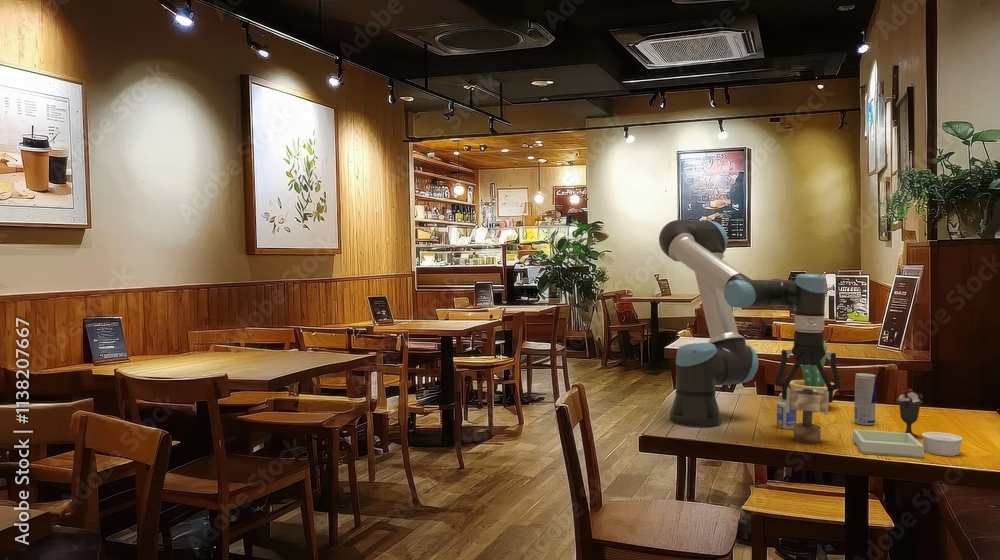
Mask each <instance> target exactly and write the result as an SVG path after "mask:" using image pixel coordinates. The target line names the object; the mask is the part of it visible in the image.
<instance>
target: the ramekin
mask: <svg viewBox="0 0 1000 560" xmlns="http://www.w3.org/2000/svg"><path fill="white" fill-rule="evenodd" d="M921 437H922V441H923V442H922V443H923V444H922V445H923V446H924V452H926V453H929V454H932V455H935V456H943V457H957V456H959V455H960V452H961V445H962V442H963V438H962V437H961V436H960V435H957V434H953V433H948V432H939V431H929V432H928V431H927V432H923V433H922V434H921ZM956 455H957V456H956Z"/></svg>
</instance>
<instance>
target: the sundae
mask: <svg viewBox="0 0 1000 560" xmlns="http://www.w3.org/2000/svg"><path fill="white" fill-rule="evenodd" d="M902 385H903V390H902V391H901V394H900V395H899V396H898V398H896V399H895V400H896V402H897V403H898V406H899V413H900V418H901V420H902V421H903V422H904V423H905V424H906V430H905V431H904V433H910V434H911V435H912V436H913V437H914V438H916V439H918V438H920V437H919V435H917V434H915V433H913V430H912V425H913V424H914V423H916V422H917V421H918V418H919V413H920V408H921V405H922V403H923V400H922V399H923V395H922V393H918V394H917V392H915V391H914V390H912V388H910V387H908V386H907V385H906V383H902ZM906 388H907V390H905V389H906Z"/></svg>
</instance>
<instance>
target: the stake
mask: <svg viewBox="0 0 1000 560" xmlns="http://www.w3.org/2000/svg"><path fill="white" fill-rule="evenodd" d="M803 394H804V395H813V390H812V389H803ZM821 428H822V427H821V426H820V425H818V424H815V423H813V411H804V410H802V422H796V424H794V429H793V441H795V442H797V443H802V444H811V445H812V444H820V443H821V442H822V441H821V440H822V438H821V437H822V436H821V435H822V434H821V432H822V431H821Z"/></svg>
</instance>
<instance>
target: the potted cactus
mask: <svg viewBox="0 0 1000 560" xmlns="http://www.w3.org/2000/svg"><path fill="white" fill-rule="evenodd" d="M824 350H825V351H826V352H828V345H827V342H826V341H825V340H824ZM826 359H827V356H824V357H823V358H822V359H821V360H820V363H821V365H822V367H823V369H824V370H825V364H826V361H827V360H826ZM800 367H801V371H802V376H803V379H794V380H793V379H792V380H791V381H790V383H789V388H790V389H802V390H803V389H812V390H817V391H823V392H824V389H826V390H827V386H826V384H825V382H824V380H823V378H822V376H821V374H820V372H819V370H818V368H817V367H816V365H815V366H813V365H802V364H801V365H800ZM830 383H831V385H833V384H834V382H832V381H830ZM838 390H839V389H836V390H834V391H833V397H834V396H835V393H836V392H838ZM829 404H830V403H829V402H828V405H829Z"/></svg>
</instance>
